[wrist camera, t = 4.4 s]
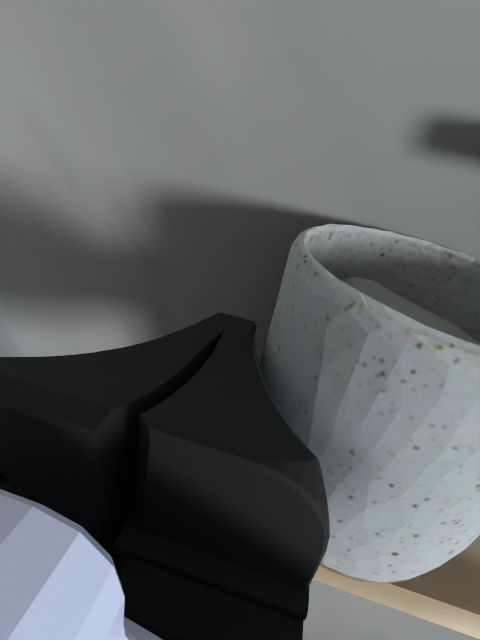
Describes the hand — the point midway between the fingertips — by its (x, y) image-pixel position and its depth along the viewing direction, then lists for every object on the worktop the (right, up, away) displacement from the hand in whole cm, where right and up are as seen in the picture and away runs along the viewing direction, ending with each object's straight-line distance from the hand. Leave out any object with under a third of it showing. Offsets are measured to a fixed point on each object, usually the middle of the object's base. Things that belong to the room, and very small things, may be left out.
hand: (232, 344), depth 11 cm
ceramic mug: (+7, 0, +2) cm, 7 cm away
